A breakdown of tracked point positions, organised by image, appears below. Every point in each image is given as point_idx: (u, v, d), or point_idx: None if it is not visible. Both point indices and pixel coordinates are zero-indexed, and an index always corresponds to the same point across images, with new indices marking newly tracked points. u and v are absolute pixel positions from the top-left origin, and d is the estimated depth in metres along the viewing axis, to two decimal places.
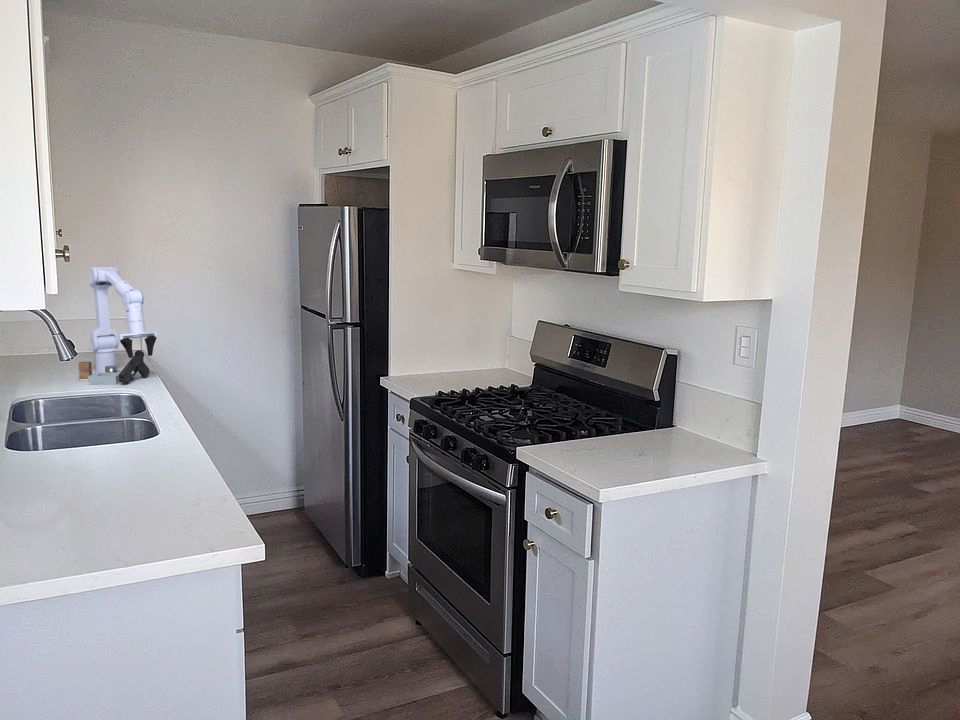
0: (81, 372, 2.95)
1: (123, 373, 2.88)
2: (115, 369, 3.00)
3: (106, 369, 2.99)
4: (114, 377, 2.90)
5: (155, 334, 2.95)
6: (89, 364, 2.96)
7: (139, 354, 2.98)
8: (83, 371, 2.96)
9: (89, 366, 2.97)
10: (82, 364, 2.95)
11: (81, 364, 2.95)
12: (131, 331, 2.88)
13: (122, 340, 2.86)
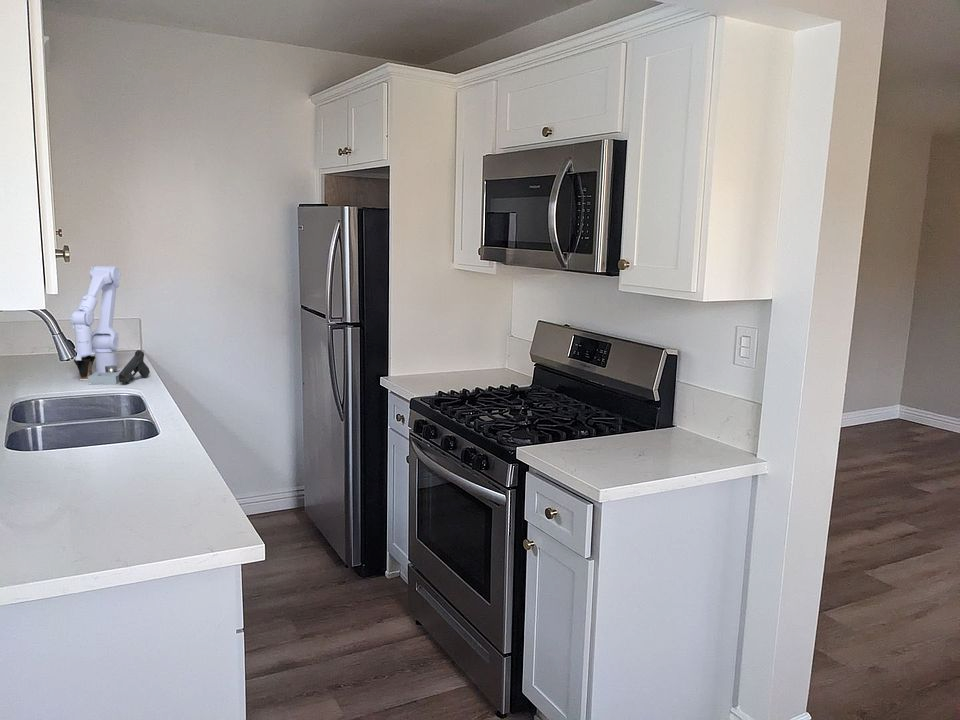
0: None
1: (123, 373, 2.88)
2: (115, 369, 3.00)
3: (106, 369, 2.99)
4: (114, 377, 2.90)
5: None
6: (89, 364, 2.96)
7: (139, 354, 2.98)
8: None
9: (89, 366, 2.97)
10: None
11: None
12: (84, 351, 2.93)
13: (80, 360, 2.92)
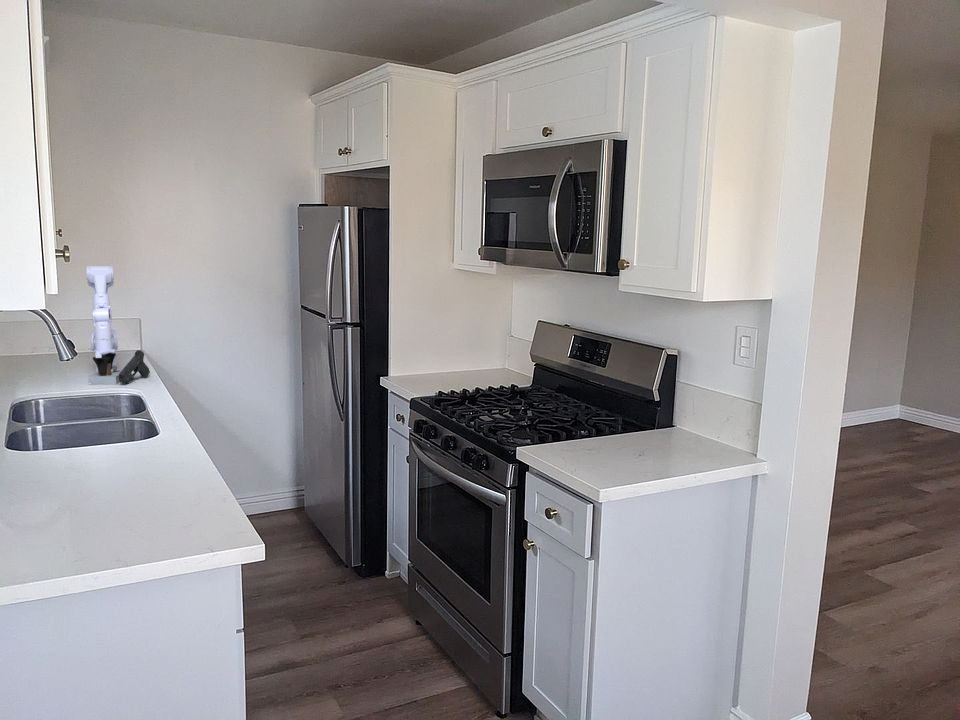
0: None
1: (123, 373, 2.88)
2: (115, 369, 3.00)
3: None
4: (114, 377, 2.90)
5: None
6: (108, 366, 2.92)
7: (139, 354, 2.98)
8: None
9: (108, 368, 2.93)
10: None
11: None
12: (104, 349, 2.89)
13: (99, 358, 2.87)
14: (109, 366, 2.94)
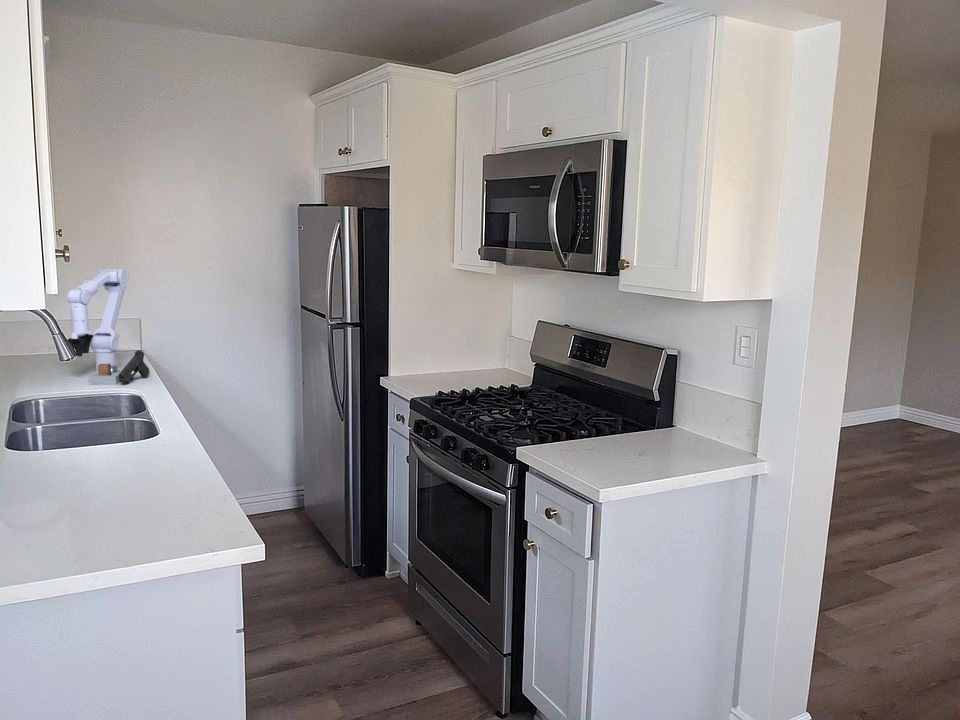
0: (100, 374, 2.92)
1: (123, 373, 2.88)
2: (115, 369, 3.00)
3: None
4: (114, 377, 2.90)
5: None
6: (108, 366, 2.92)
7: (139, 354, 2.98)
8: (103, 374, 2.92)
9: (108, 368, 2.93)
10: (101, 366, 2.91)
11: (100, 366, 2.91)
12: (80, 330, 2.92)
13: (75, 339, 2.89)
14: (109, 366, 2.94)
